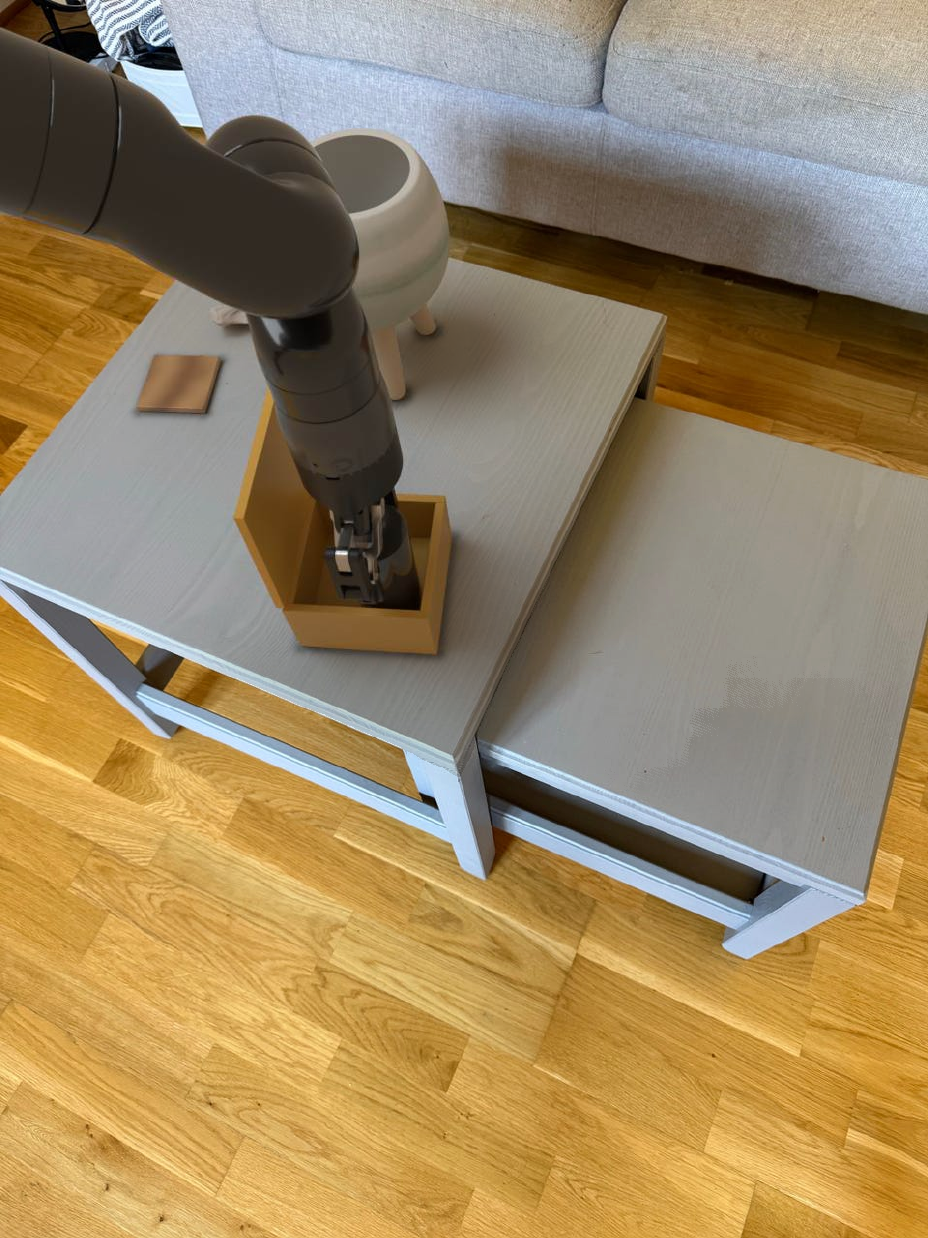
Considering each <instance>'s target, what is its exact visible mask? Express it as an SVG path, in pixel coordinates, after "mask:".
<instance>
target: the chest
mask: <svg viewBox="0 0 928 1238" xmlns="http://www.w3.org/2000/svg"><path fill="white" fill-rule="evenodd" d="M396 496H397V500H398V504H399V507H398V511H399V512H400V513H401V514H402V515H403V516H404V518H405V520H406V523H407V527H408V531H409V536H410V540H411V544H412V548H413V553H414V557H415V561H416V565H417V569H418V574H419V578H420V582H421V586H422V590H423V595H422V602H421V609H420V611H416V610H398V609H380V608H362V607H361V606H360V604H359V602H358V600H355V599H346V600H345V599H339V597H338V595H337V592H336V589H335V586H334V584H333V581H332V578H331V575H330V572H329V570H328V567H327V564H326V561H325V557H324V553H325V550H326V547H327V546H328V547H335V537H334V522H333V520H332V519H331V518H330V511H329V509H328V508H327V507H325V506H324V505H322V504H321V503H319V502H318V501H316V500H315V499H314V498H313V497H312V496H311V495H310V497H309V502H308V506H307V511H306V515H305V520H304V524H303V529H302V533H301V538H300V542H299V547H298V551H297V556H296V560H295V565H294V569H293V574H292V578H291V583H290V587H289V592H288V596H287V601H286V606H285V608H281V611H282V613H283V616H284V617H285V619H286V621H287V624H288V625H289V626H290V629H291V631H292V633H293V634H294V636H295V639H296V640H297V642H298V644H299V645H300V647H308V648H309V647H310V648H323V649H340V650H358V651H371V652H372V651H373V652H389V653H405V654H406V653H407V654H423V655H437V653H438V648H439V641H440V633H441V625H442V618H443V609H444V603H445V594H446V587H447V579H448V572H449V571H448V570H449V564H450V556H451V548H452V540H453V534H452V529H451V523H450V522H451V521H450V517H449V511H448V504H447V503H448V502H447V498H446V495H440V494H439V495H438V494H416V493H415V494H414V493H413V494H412V493H411V494H410V493H396Z"/></svg>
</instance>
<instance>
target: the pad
mask: <svg viewBox="0 0 928 1238" xmlns="http://www.w3.org/2000/svg"><path fill="white" fill-rule="evenodd" d="M152 357H153V358H152V361H151V363H150V366H149V369H148V372H147V375H146V377H145V381H144V383H143V386H142V389H141V392H140V395H139V398H138V401H137V404H136V409H137V411H138V412H145V413H146V412H150V413H153V412H154V413H178V414H179V413H184V414H206V413H207V412H206V411H207V408H208V406H209V402H210V399H211V395H212V392H213V389H214V385H215V382H216V379H217V376H218V372H219V368H220V366H221V362H222V360H221V358H220V356H219V355H186V354H185V355H179V354H154V355H153V356H152Z"/></svg>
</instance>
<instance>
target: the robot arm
mask: <svg viewBox="0 0 928 1238" xmlns="http://www.w3.org/2000/svg"><path fill="white" fill-rule="evenodd" d="M310 142H311V141H309V140H308V139H307V138H306V136H304V135H303V134H302V133H301V132H299V130H297V129H296V128H294V127H293V126H291V125H290V124H288V123H286V122H284V121H282V120H279V119H277V118H274V117H271V116H268V115H267V116H266V115H262V114H261V115H260V114H249V115H248V114H247V115H243V116H239V117H236V118H233V119H230V120H229V121H227V122H225V123H223V124H222V125H221V126H219V127H218V128H217V129H216V130H215V131H213V133H212V134H211V135H210V137H209V138H208V139H207V141H206V142H205V144H203V143H201V142H200V141H199V140H197V139H196V138H194V137H193V136H192V135H191V134H190V133H189V132H188V131H187V130H186V129H185V128H184V127H183V126H182V125H181V124H180V122H179V121H178V119H177V118H176V116H175V115H174V114H173V113H172V112H171V110H170V109H169V108H168V107H167V106H166V104H165V103H163V101H162V100H161V99H159V98H158V97H157V96H156V95H154V94H153V93H152V92H150V91H148V90H147V89H145V88H143V87H142V86H140V85H138V84H136V83H135V82H133V81H130V80H128V79H126V78H124V77H122V76H120V75H117V74H115V73H113V72H111V71H107V70H105V69H103V68H101V67H98V66H97V65H94V64H91V63H89V62H87V61H84V60H82V59H79V58H77V57H75V56H73V55H70V54H68V53H65V52H63V51H60V50H58V49H55V48H53V47H51V46H48V45H45V44H44V43H41V42H38V41H36V40H33V39H30V38H29V37H26V36H23V35H20V34H18V33H16V32H13V31H11V30H8V29H5V28H3V27H1V26H0V214H3V215H7V216H9V217H13V218H17V219H19V220H23V221H27V222H30V223H33V224H36V225H40V226H43V227H46V228H51V229H54V230H57V231H60V232H63V233H67V234H70V235H74V236H79V237H81V238H85V239H88V240H92V241H97V242H100V243H101V242H102V243H105V244H108V245H112V246H114V247H116V248H118V249H120V250H122V251H124V252H126V253H127V254H129V255H131V256H133V257H134V258H136V259H138V261H139V260H140V261H141V262H143V263H144V264H146V265H147V266H149V267H150V268H153V270H155V271H157V272H160V273H161V274H163V275H166V276H167V277H169V278H172V279H173V280H175V281H177V282H179V283H181V284H183V285H184V286H187V287H189V288H190V289H193V290H195V291H196V292H199V293H200V294H202V295H205V296H206V297H208V298H210V299H212V300H214V301H217V302H219V303H223V304H225V305H227V306H229V307H231V308H234V309H237V310H239V311H242V312H245V314H246V317H247V320H248V324H247V325H248V328H249V331H250V335H251V339H252V344H253V346H254V351H255V354H256V359H257V361H258V364H259V367H260V369H261V373H262V375H263V377H264V380H265V383H266V385H267V389H268V388H269V390H270V393H271V395H272V398H273V400H274V404H275V410H276V415H277V419H278V422H279V426H280V429H281V431H282V434H283V436H284V439H285V441H286V444H287V446H288V449H289V451H290V454H291V456H292V459H293V461H294V464H295V466H296V469H297V471H298V474H299V476H300V479H301V481H302V484H303V486H304V488H305V489H306V491H307V492H308V493H309V494H310V495H311V496H312V497H313V498H314V499H315V500H316V501H318V502H319V503H321V504H322V505H324V506H325V507H327V508H328V509H329V511H330V518H331V519H332V520H333V522H334V537H335V547H328V546H327V547H326V550H325V553H324V557H325V561H326V564H327V567H328V570H329V572H330V575H331V578H332V581H333V584H334V586H335V589H336V592H337V595H338V597H339V599H345V600H346V599H355V600H358V602H359V603H365V604H377V603H378V602H382V601H383V599H384V593H385V592H384V589H383V586H382V583H381V580H380V577H379V574H378V567H377V557H378V556H379V554H380V553H381V551H382V549H383V536H382V518H383V516H384V514H385V506H384V504H388V505H390V506H392V507H394V508H396V509H397V510H398V507H399V504H398V500H397V496H396V494H397V492H396V488H395V487H396V486H397V484H398V482H399V481H400V478H401V476H402V473H403V469H404V453H403V449H402V444H401V440H400V436H399V432H398V426H397V423H396V419H395V418H396V417H395V413H394V408H393V405H392V401H391V400H392V399H390V396H389V392H388V389H387V386H386V383H385V381H384V379H383V377H382V374H381V372H380V369H379V365H378V361H377V356H376V352H375V348H374V343H373V339H372V334H371V331H370V328H369V324H368V321H367V319H366V316H365V314H364V311H363V309H362V307H361V304H360V302H359V300H358V298H357V296H356V294H355V292H354V290H353V288H352V285H353V283H354V281H355V279H356V276H357V272H358V268H359V244H358V239H357V235H356V231H355V228H354V225H353V223H352V220H351V218H350V216H349V214H348V212H347V210H346V208H345V206H344V204H343V202H342V200H341V198H340V196H339V194H338V192H337V190H336V188H335V186H334V184H333V182H332V180H331V178H330V176H329V174H328V172H327V170H326V168H325V166H324V164H323V162H322V160H321V158H320V156H319V155H318V153H317V152H316V150H315V149H314V147H313V146H312V145H311V144H310ZM370 533H372V540H373V542H372V543H366V542H355V538H356V536H363V535H368V534H370ZM364 558H367V560H368V568H367V566H366V562H365V559H364Z"/></svg>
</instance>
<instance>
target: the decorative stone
mask: <svg viewBox="0 0 928 1238" xmlns="http://www.w3.org/2000/svg"><path fill="white" fill-rule="evenodd" d="M209 312H210V316H211V322H212V323H214V324H215V325H217V326H220V327H223V328H225V327H227V326H230V325H233V324H235V325H237V324H240V325H241V324H242V325H249V324H248V320H247V317H246V314H245V312H242V311H239V310H237V309H234V308H231V307H229V306H227V305H225V304H223V303H221V304H218V305H216V306H213V307H211V308H210V311H209Z"/></svg>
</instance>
